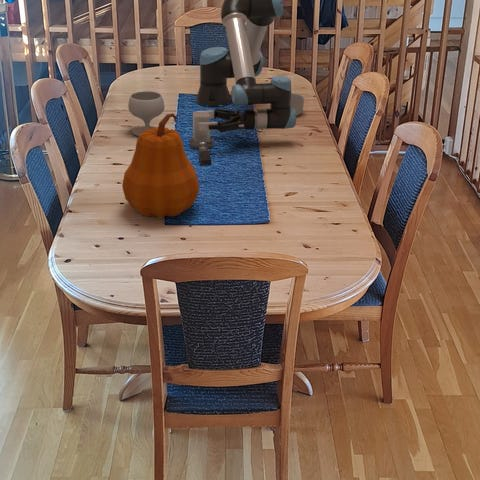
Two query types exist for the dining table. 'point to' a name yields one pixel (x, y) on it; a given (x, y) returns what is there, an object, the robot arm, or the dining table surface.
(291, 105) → the teacup
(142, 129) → the chalice
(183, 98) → the dining table surface
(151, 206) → the decorative pumpkin
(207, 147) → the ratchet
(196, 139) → the tall taupe upright block
